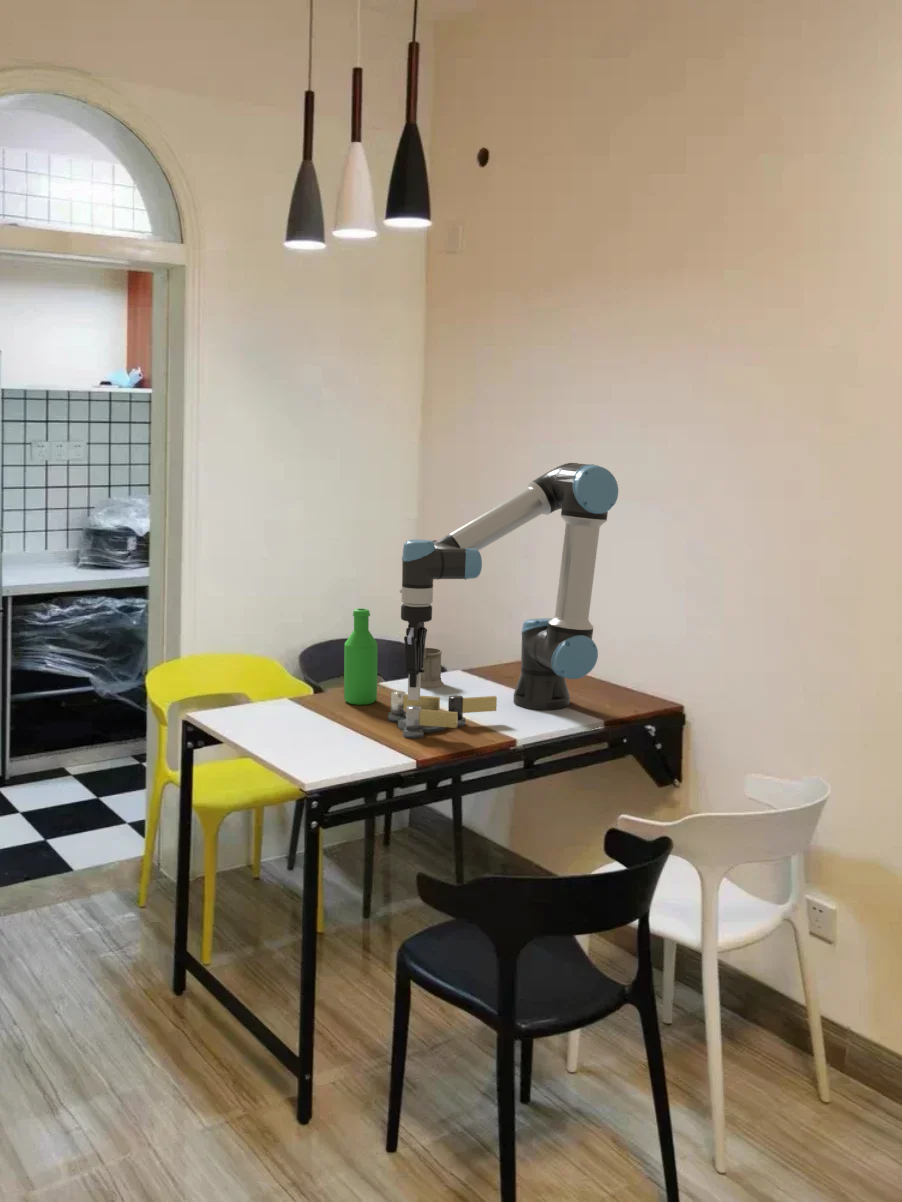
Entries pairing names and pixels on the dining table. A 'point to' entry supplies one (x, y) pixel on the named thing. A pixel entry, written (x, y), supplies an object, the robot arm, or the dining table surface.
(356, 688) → the bottle
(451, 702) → the black and tan lever
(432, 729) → the tribrach plate
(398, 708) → the lever
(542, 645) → the robot arm
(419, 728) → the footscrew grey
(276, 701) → the dining table surface
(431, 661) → the mug
